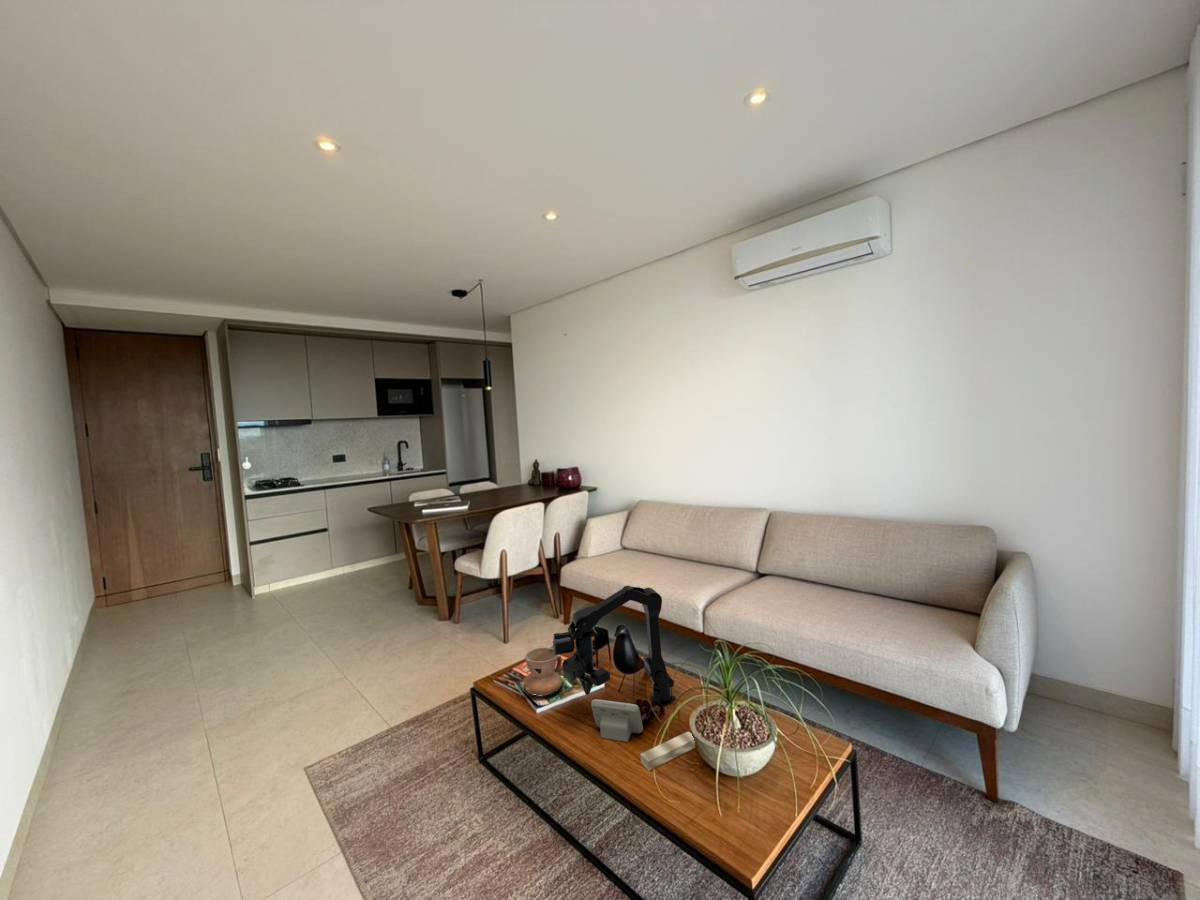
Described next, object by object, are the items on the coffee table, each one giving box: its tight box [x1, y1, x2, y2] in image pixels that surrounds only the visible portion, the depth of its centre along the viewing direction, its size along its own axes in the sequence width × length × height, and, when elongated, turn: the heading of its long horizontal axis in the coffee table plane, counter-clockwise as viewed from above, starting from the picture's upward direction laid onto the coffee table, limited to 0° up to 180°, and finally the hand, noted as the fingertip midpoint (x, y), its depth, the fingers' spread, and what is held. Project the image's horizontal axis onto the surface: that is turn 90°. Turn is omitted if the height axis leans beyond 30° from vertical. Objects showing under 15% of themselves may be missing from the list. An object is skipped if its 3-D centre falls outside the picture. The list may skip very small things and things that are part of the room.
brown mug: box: [522, 646, 563, 695], centre depth 185 cm, size 18×14×14 cm
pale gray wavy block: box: [639, 731, 696, 771], centre depth 145 cm, size 18×4×3 cm, turn 120°
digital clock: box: [590, 698, 644, 743], centre depth 157 cm, size 16×9×11 cm, turn 59°
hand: (587, 694), depth 167 cm, fingers closed
